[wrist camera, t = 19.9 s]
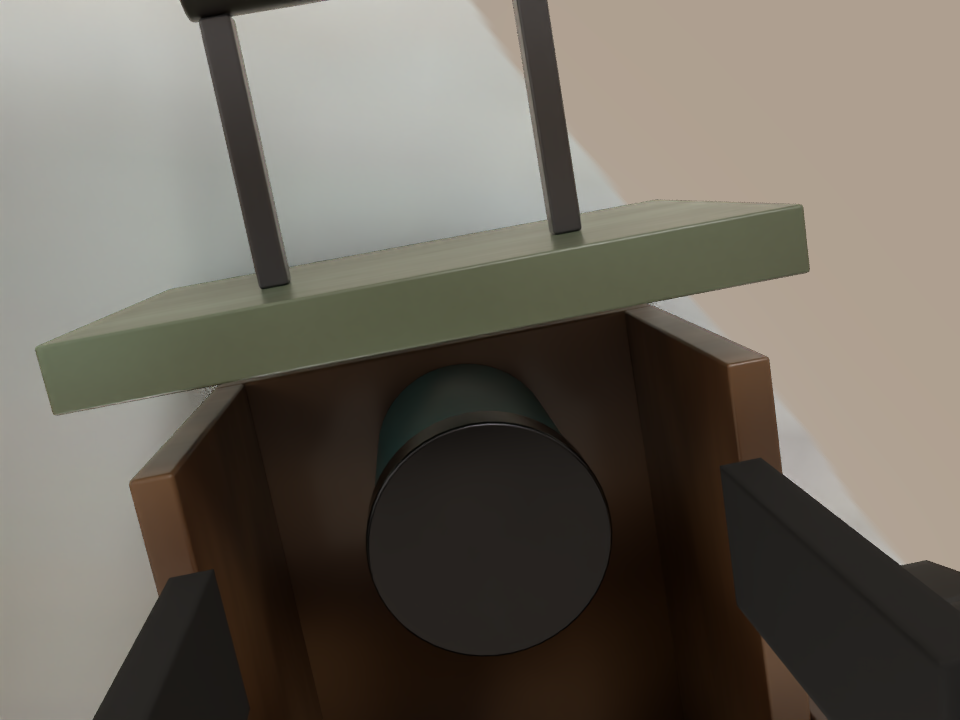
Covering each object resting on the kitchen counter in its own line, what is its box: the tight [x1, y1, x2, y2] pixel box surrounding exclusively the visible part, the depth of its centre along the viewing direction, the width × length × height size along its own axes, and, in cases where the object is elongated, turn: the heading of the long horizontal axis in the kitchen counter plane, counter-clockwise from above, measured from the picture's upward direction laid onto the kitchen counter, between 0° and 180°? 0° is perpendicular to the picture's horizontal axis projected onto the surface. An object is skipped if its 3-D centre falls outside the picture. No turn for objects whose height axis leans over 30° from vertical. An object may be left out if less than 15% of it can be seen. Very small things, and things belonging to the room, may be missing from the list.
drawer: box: [35, 0, 811, 720], centre depth 20 cm, size 22×13×9 cm, turn 10°
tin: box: [366, 364, 612, 657], centre depth 21 cm, size 5×5×6 cm
